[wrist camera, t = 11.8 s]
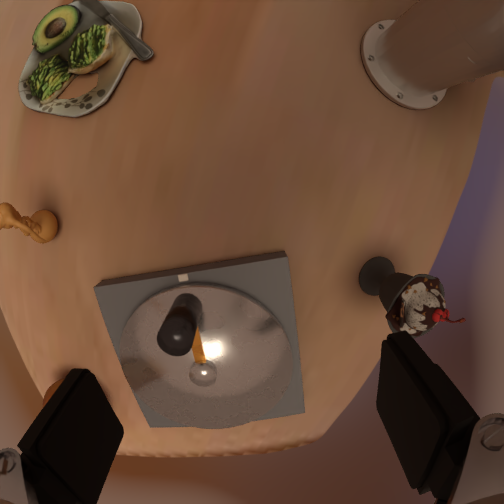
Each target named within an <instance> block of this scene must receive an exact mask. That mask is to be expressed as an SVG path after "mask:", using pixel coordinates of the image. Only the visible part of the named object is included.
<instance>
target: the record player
mask: <svg viewBox="0 0 504 504" xmlns="http://www.w3.org/2000/svg"><path fill="white" fill-rule="evenodd" d="M120 361H121V366H122V369H123V372H124V375H125V377H126V379H127V381H128V383H129V385H130V386H131V388H132V389H133V391H134V392H135V393H136V394H137V395H138V397H139V398H140V399H141V400H142V401H143V402H144V403H145V404H146V405H148V406H149V407H150V408H152V409H153V410H154V411H156V412H157V413H159V414H161V415H162V416H164V417H166V418H168V419H170V420H172V421H175V422H178V423H180V424H184V425H187V426H191V427H197V428H205V429H222V428H231V427H235V426H239V425H243V424H246V423H249V422H251V421H253V420H255V419H257V418H259V417H261V416H262V415H264V414H266V413H267V412H268V411H269V410H271V409H272V408H273V407H274V406H275V405H276V404H277V403H278V402H279V401H280V399H281V398H282V397H283V395H284V394H285V392H286V390H287V388H288V386H289V383H290V380H291V377H292V371H293V358H292V352H291V348H290V344H289V341H288V338H287V335H286V333H285V331H284V329H283V327H282V325H281V324H280V322H279V321H278V320H277V318H276V317H275V316H274V315H273V314H272V313H271V312H270V310H269V309H268V308H267V307H265V306H264V305H263V304H261V303H260V302H259V301H258V300H256V299H254V298H253V297H251V296H249V295H247V294H245V293H243V292H241V291H239V290H236V289H233V288H230V287H227V286H223V285H218V284H212V283H186V284H181V285H176V286H172V287H169V288H166V289H163V290H161V291H159V292H157V293H155V294H154V295H152V296H151V297H149V298H148V299H146V300H145V301H144V302H143V303H142V304H141V305H140V306H139V307H138V308H137V309H136V311H135V312H134V313H133V315H132V316H131V317H130V319H129V320H128V322H127V324H126V326H125V328H124V330H123V333H122V336H121V340H120Z"/></svg>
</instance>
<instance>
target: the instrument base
mask: <svg viewBox="0 0 504 504" xmlns="http://www.w3.org/2000/svg"><path fill="white" fill-rule="evenodd" d="M186 283H212V284H218V285H223V286H227V287H230V288H233V289H236V290H239V291H241V292H243V293H245V294H247V295H249V296H251V297H253V298H254V299H256V300H258V301H259V302H260V303H261V304H263V305H264V306H265V307H267V308H268V309H269V310H270V312H271V313H272V314H273V315H274V316H275V317H276V318H277V320H278V321H279V322H280V324H281V325H282V327H283V329H284V331H285V333H286V335H287V338H288V341H289V344H290V348H291V352H292V358H293V371H292V377H291V380H290V383H289V386H288V388H287V390H286V392H285V394H284V395H283V397H282V398H281V399H280V401H279V402H278V403H277V404H276V405H275V406H274V407H273V408H272V409H271V410H269V411H268V412H267V413H266V414H264V415H262V416H261V417H259V418H257V419H255V420H253V421H257V420H264V419H271V418H278V417H284V416H289V415H295V414H300V413H305V407H304V395H303V385H302V374H301V364H300V355H299V345H298V336H297V327H296V319H295V310H294V302H293V293H292V285H291V277H290V270H289V262H288V256H287V255H286V253H285V251H282V252H275V253H269V254H263V255H257V256H251V257H245V258H239V259H233V260H227V261H221V262H214V263H208V264H202V265H196V266H190V267H184V268H177V269H171V270H165V271H159V272H152V273H146V274H140V275H134V276H127V277H121V278H115V279H109V280H102V281H101V282H100V283H98V284H97V285H96V286H95V287H94V291H95V294H96V297H97V300H98V303H99V307H100V310H101V313H102V316H103V319H104V321H105V324H106V327H107V330H108V333H109V335H110V338H111V341H112V343H113V346H114V349H115V351H116V354H117V356H118V359H119V361H120V340H121V336H122V333H123V330H124V328H125V326H126V324H127V322H128V320H129V319H130V317H131V316H132V315H133V313H134V312H135V311H136V309H137V308H138V307H139V306H140V305H141V304H142V303H143V302H144V301H145V300H146V299H148V298H149V297H151V296H152V295H154V294H155V293H157V292H159V291H161V290H163V289H166V288H169V287H172V286H176V285H181V284H186ZM120 364H121V361H120ZM130 387H131V386H130ZM131 389H132V388H131ZM132 391H133V389H132ZM133 393H134V396H135V398H136V400H137V402H138V404H139V406H140V408H141V410H142V412H143V414H144V416H145V418H146V420H147V422H148V424H149V426H150V427H191V426H187V425H184V424H180V423H178V422H175V421H172V420H170V419H168V418H166V417H164V416H162V415H161V414H159V413H157V412H156V411H154V410H153V409H152V408H150V407H149V406H148V405H146V404H145V403H144V402H143V401H142V400H141V399H140V398H139V397H138V395H137V394H136V393H135V392H134V391H133Z"/></svg>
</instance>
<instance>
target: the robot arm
mask: <svg viewBox="0 0 504 504" xmlns="http://www.w3.org/2000/svg"><path fill="white" fill-rule="evenodd" d="M361 56H362V60H363V64H364V66H365V69H366V72H367V73H368V75H369V77H370V78H371V80H372V81H373V83H374V84H375V85H376V87H377V88H378V89H379V90H380V91H381V92H382V93H383V94H384V95H385V96H386V97H388V98H389V99H390V100H392V101H393V102H395V103H397V104H399V105H400V106H403V107H406V108H409V109H414V110H423V109H427V108H431V107H433V106H435V105H437V104H438V103H439V102H440V101H441V100H442V99H443V97H444V96H445V94H446V91H447V88H449V87H452V86H455V85H458V84H461V83H464V82H467V81H469V82H474V80H475V79H476V78H479V77H482V76H485V75H488V74H492V73H495V72H498V71H502V70H504V0H419V1H418V2H417V3H416V4H415V5H413V6H412V7H411V8H410V9H409V10H408V11H407V12H405V13H404V14H403V15H402V16H401V17H400V18H399V19H398V20H382V21H379V22H377V23H375V24H374V25H372V26H371V27H370V28H369V29H368V30H367V31H366V32H365V34H364V36H363V38H362V43H361ZM397 96H398V97H397ZM376 405H377V410H378V413H379V415H380V417H381V419H382V422H383V424H384V426H385V429H386V431H387V433H388V435H389V437H390V440H391V442H392V444H393V447H394V449H395V451H396V454H397V456H398V458H399V460H400V463H401V465H402V468H403V470H404V472H405V475H406V477H407V479H408V482H409V484H410V486H411V488H413V489H415V488H417V490H418V492H419V494H420V495H421V494H423V493H426V492H428V491H432V494H433V496H434V497H435V498H436V499H435V502H434V504H504V414H501V413H494V414H490V415H487V416H485V417H483V418H482V419H480V418H479V416H478V415H477V414H476V412H475V411H474V410H473V408H472V407H471V406H470V404H469V403H468V402H467V400H466V399H465V398H464V396H463V395H462V394H461V393H460V391H459V390H458V389H457V388H456V386H455V385H454V384H453V383H452V381H451V380H450V379H449V377H448V376H447V375H446V374H445V372H444V371H443V370H442V369H441V368H440V367H439V366H438V365H437V364H434V363H433V362H432V361H431V359H430V358H429V357H428V356H427V355H426V353H425V352H424V351H423V350H422V348H421V347H420V346H419V345H418V344H417V343H416V341H415V340H414V339H413V338H412V336H411V335H410V334H409V333H408V332H407V331H406V330H404V331H400V332H396V333H392V334H389V335H388V336H387V340H383V342H382V348H381V362H380V374H379V384H378V392H377V401H376ZM123 435H124V429H123V426H122V424H121V423H120V421H119V419H118V418H117V416H116V414H115V413H114V411H113V409H112V407H111V405H110V404H109V402H108V400H107V398H106V396H105V394H104V393H103V391H102V389H101V387H100V385H99V383H98V381H97V379H96V377H95V375H94V374H93V373H91V372H90V371H89V370H88V369H72V370H71V371H70V372H69V374H68V375H67V376H66V378H65V379H64V380H63V382H62V383H61V384H60V386H59V387H58V388H57V390H56V391H55V392H54V394H53V395H52V396H51V398H50V399H49V400H48V402H47V403H46V405H45V406H44V407H43V409H42V410H41V412H40V413H39V414H38V416H37V417H36V419H35V420H34V421H33V423H32V424H31V426H30V427H29V429H28V430H27V432H26V433H25V434H24V436H23V438H22V439H21V440H20V442H19V443H18V445H17V446H18V447H19V448H20V450H21V451H22V452H23V453H22V454H21V455H20V454H19V453H18V452H17V451H16V450H15V449H12V448H5V449H2V450H0V504H97V501H98V499H99V496H100V493H101V491H102V488H103V485H104V482H105V480H106V477H107V475H108V473H109V470H110V467H111V465H112V462H113V460H114V457H115V455H116V452H117V450H118V447H119V445H120V443H121V440H122V438H123Z"/></svg>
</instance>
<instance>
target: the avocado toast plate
mask: <svg viewBox="0 0 504 504" xmlns="http://www.w3.org/2000/svg"><path fill="white" fill-rule="evenodd" d="M141 31H142V20H141V17H140V14H139V12H138V11H137V9H136V7H135V6H134V5H132V4H129V3H125V2H116V1H98V0H74V1H73V2H72V3H70V4H68V5H62V6H59V7H57V8H54V9H53V10H51V11H50V12H49V13H48V14H47V15H45V17H44V18H43V19H42V20H41V21H40V23H39V24H38V26H37V28H36V30H35V32H34V34H33V44H32V45H35V46H34V48H33V50H32V52H31V54H30V56H29V58H28V60H27V62H26V64H25V66H24V68H23V71H22V74H21V76H20V80H19V94H20V97H21V100H22V102H23V104H24V105H25V106H27V107H28V108H30V109H32V110H34V111H38V112H45V113H50V114H55V115H58V116H65V117H80V116H83V115H85V114H89V113H91V112H92V111H94V110H95V109H97V108H98V107H99V106H101V105H102V104H104V103H105V102H106V101H107V100H108V98H109V97H110V96H111V94H112V92H113V91H114V89H115V88H116V86H117V84H118V83H119V81H120V79H121V77H122V75H123V73H124V71H125V69H126V67H127V66H128V64H129V62H130V61H131V60H132V59H133V58H138V59H139V60H141V61H146V60H148V59H150V58H151V57H152V56H153V50H152V49H151V48H150V47H149V46H148V45H147V44H146V43H144V42H143V41H142V39H141ZM67 60H68V61H67ZM86 73H90V74H93V73H98V75H99V76H98V82H97V86H96V87H95V88H94V89H92V90H91V91H90V92H88V93H86V94H84V95H82V96H80V97H77V98H71V99H57V96H58V95H59V94H61V93H62V92H63V91H64V89H65V88H66V87H67V86H68V85H69V83H70V82H71V81H72V80H73V79H75V78H76V76H77V75H80V74H86Z"/></svg>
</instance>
